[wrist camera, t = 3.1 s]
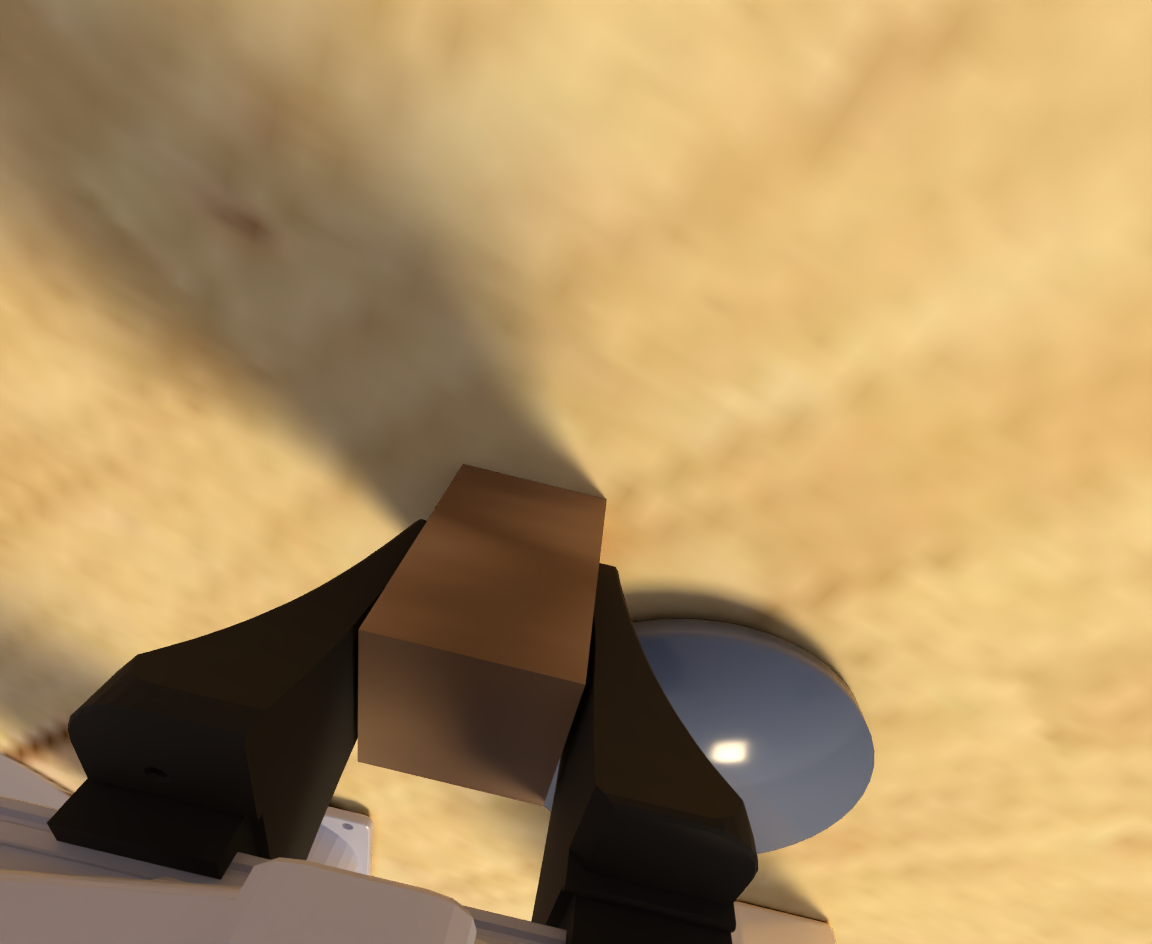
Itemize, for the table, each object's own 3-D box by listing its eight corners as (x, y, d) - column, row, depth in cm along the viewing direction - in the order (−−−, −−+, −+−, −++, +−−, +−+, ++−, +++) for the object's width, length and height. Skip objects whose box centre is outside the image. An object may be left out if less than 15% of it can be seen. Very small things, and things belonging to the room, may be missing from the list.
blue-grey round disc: (495, 790, 22) (489, 815, 21) (549, 573, 16) (544, 597, 15) (776, 857, 22) (781, 885, 21) (936, 668, 16) (954, 697, 15)
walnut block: (449, 573, 16) (357, 761, 11) (463, 463, 14) (358, 629, 9) (575, 604, 16) (543, 806, 11) (606, 499, 14) (585, 684, 9)
